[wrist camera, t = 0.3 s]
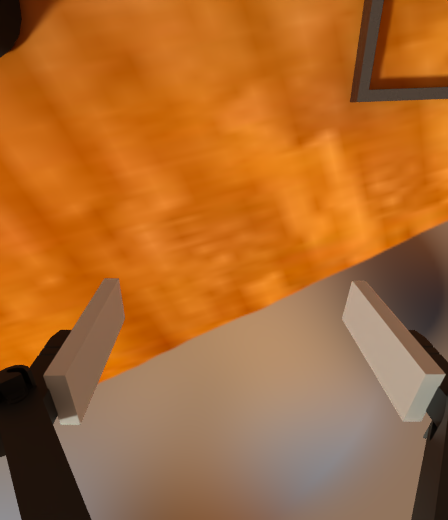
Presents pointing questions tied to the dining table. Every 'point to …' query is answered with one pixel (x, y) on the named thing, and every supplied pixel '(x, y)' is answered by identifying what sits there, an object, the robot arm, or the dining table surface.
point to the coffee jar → (9, 24)
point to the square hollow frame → (366, 59)
